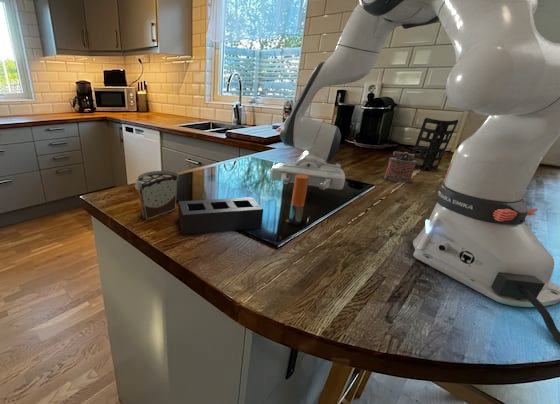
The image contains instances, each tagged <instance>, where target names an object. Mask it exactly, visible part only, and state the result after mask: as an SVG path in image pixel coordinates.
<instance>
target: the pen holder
mask: <svg viewBox="0 0 560 404" xmlns="http://www.w3.org/2000/svg"><path fill="white" fill-rule="evenodd" d="M177 212H178V213H177V214H178V219H177V220H178V223H179V227H180V230H181V233H182V236H183V235H194V234H195V235H196V234H206V233H219V232H231V231H233V232H234V231H245V230H259V229H262V224H263V215H264V208H263V207H262V206H261V205H260V204H259V203H258V202H257V201H256V200H255V198H254V197H253V196H249V197H234V198H217V199H216V198H215V199H214V198H213V199H201V200H200V199H199V200H198V199H197V200H183V201H180V200H179V201H178V202H177Z"/></svg>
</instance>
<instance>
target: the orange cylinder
mask: <svg viewBox="0 0 560 404" xmlns="http://www.w3.org/2000/svg"><path fill="white" fill-rule="evenodd" d="M308 180H309V176H307V175H301V174H299V175H296V176H295V183H293V189H292V196H291V201H290V208H289V209H290V210H289V216H288V223H289V224H290V225H293V226H300V225H301V224H302V221H303V220H302V219H303V215H304V214H303V213H304V207H305V202H306V197H307V191H308V187H309V186H308Z"/></svg>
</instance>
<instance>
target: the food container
mask: <svg viewBox="0 0 560 404" xmlns="http://www.w3.org/2000/svg"><path fill="white" fill-rule="evenodd" d="M179 181H180V176H179V173H178V172H176V171H170V170H153V171H147V172H144V173H141V174H139V175H137V177H136V180H135V184H134V185H135V186H134V188H135V190H136V191H138V196H139V200H140V208H141V213H142V218H143V219H145V220H146V221H148V220H150V219H151V220H152V219H153V218H156V217H159V216H162V215H165V214H167V213H170V212H173V211H176V208H177V195H178V194H177V193H178V182H179Z"/></svg>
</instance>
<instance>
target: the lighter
mask: <svg viewBox="0 0 560 404" xmlns="http://www.w3.org/2000/svg"><path fill="white" fill-rule="evenodd" d="M393 156H396V157H393ZM416 163H418V161H417V160H415V158H414V154H412V153H409V152H407V151H405V152H401V151H393V154H392V157H389V158H388V164H387V168H386V171H385V175H384V177H383V178H384V179H385V180H389V181H395V182H399V183H411V182H412V177H413V173H414V171H415V168H416V167H415V164H416Z"/></svg>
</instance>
